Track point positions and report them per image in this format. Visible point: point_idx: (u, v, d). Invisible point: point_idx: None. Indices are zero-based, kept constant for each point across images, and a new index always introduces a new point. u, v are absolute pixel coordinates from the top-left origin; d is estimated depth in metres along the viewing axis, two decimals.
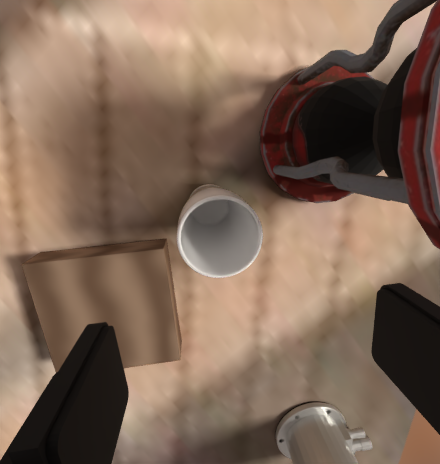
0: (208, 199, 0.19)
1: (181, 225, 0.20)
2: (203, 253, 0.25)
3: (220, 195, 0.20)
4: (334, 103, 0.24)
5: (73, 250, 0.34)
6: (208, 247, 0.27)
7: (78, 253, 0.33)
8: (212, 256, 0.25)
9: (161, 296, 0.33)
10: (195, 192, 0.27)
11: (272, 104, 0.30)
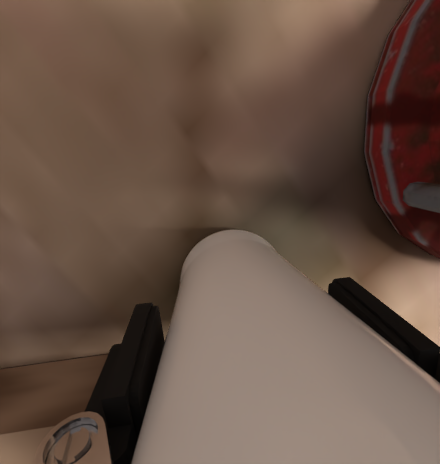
0: None
1: None
2: None
3: None
4: None
5: None
6: None
7: None
8: None
9: None
10: (202, 309, 0.07)
11: (426, 6, 0.10)
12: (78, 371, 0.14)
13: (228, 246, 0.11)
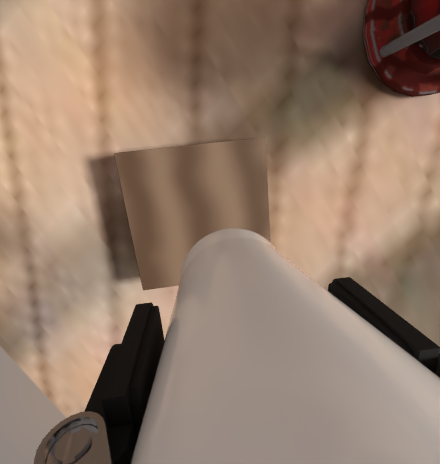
0: None
1: None
2: None
3: None
4: None
5: None
6: None
7: None
8: None
9: (258, 194, 0.30)
10: (202, 307, 0.07)
11: None
12: None
13: (228, 244, 0.11)
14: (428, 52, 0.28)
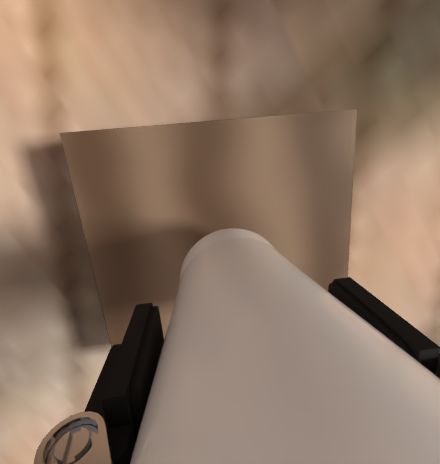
0: None
1: None
2: None
3: None
4: None
5: None
6: None
7: None
8: None
9: (333, 218, 0.17)
10: (202, 307, 0.07)
11: None
12: None
13: (228, 244, 0.11)
14: None
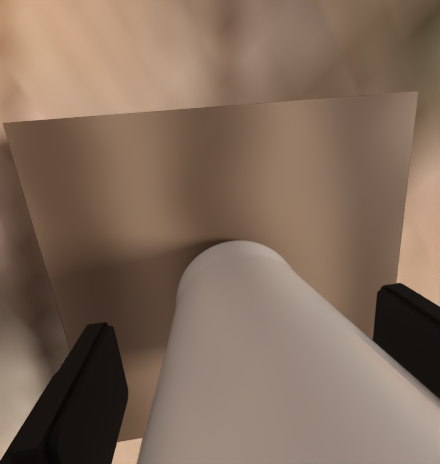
0: None
1: None
2: None
3: None
4: None
5: None
6: None
7: None
8: None
9: (378, 237, 0.12)
10: (202, 375, 0.05)
11: None
12: None
13: (234, 265, 0.09)
14: None
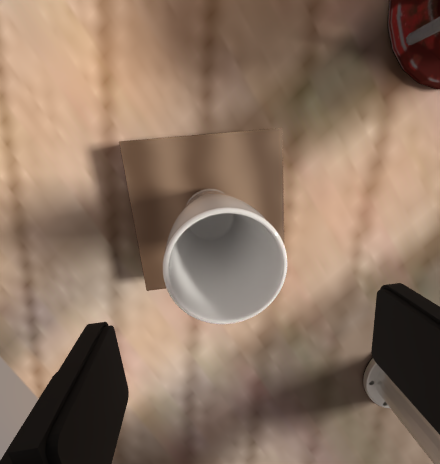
0: (209, 213, 0.13)
1: (169, 251, 0.13)
2: (202, 281, 0.19)
3: (227, 207, 0.13)
4: None
5: None
6: (208, 272, 0.21)
7: None
8: (214, 285, 0.19)
9: (272, 190, 0.28)
10: (192, 200, 0.20)
11: None
12: None
13: (205, 191, 0.24)
14: None
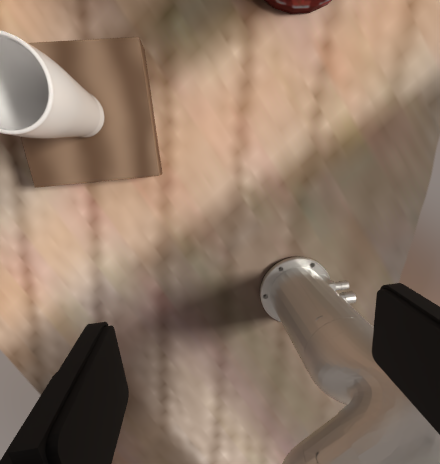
0: None
1: None
2: None
3: None
4: None
5: None
6: None
7: None
8: None
9: (137, 95, 0.33)
10: None
11: None
12: None
13: None
14: None
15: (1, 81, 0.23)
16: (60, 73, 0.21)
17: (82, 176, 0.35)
